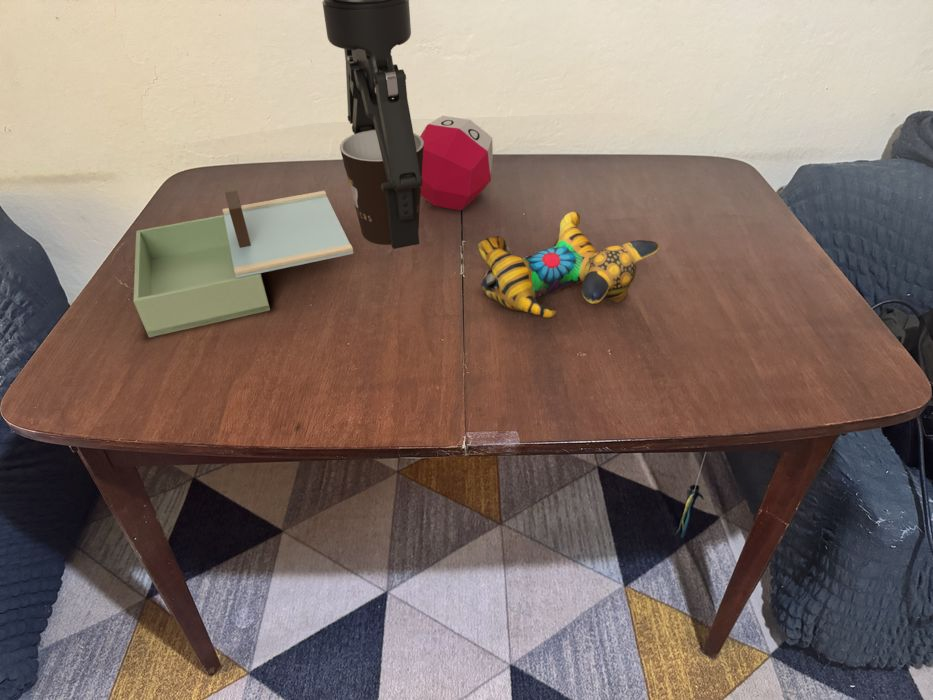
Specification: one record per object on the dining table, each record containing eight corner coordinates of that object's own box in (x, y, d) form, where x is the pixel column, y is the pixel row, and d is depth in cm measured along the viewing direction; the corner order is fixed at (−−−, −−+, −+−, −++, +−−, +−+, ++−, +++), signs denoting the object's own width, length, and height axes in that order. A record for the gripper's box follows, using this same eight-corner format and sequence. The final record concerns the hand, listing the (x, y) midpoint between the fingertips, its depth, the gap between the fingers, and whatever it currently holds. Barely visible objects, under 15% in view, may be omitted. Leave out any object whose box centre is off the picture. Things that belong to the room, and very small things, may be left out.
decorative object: (398, 136, 102) (437, 87, 110) (391, 202, 115) (426, 154, 123) (483, 174, 101) (516, 122, 109) (466, 237, 114) (496, 185, 122)
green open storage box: (148, 337, 87) (133, 301, 83) (149, 264, 101) (136, 230, 98) (270, 310, 91) (260, 274, 87) (253, 243, 106) (244, 210, 102)
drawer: (236, 278, 86) (223, 234, 82) (223, 214, 101) (212, 174, 97) (353, 253, 91) (347, 211, 86) (325, 196, 105) (318, 157, 101)
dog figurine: (480, 314, 96) (561, 368, 83) (459, 246, 88) (546, 295, 75) (576, 248, 102) (665, 289, 90) (566, 179, 94) (662, 214, 82)
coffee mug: (359, 212, 76) (348, 128, 69) (431, 213, 75) (427, 129, 69) (339, 264, 67) (324, 173, 61) (421, 265, 66) (415, 174, 60)
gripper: (299, -26, 64) (332, 178, 77) (353, 27, 46) (383, 281, 59) (373, -32, 65) (392, 168, 79) (452, 17, 48) (459, 265, 61)
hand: (388, 217), depth 69 cm, fingers closed on coffee mug, 12 cm apart
